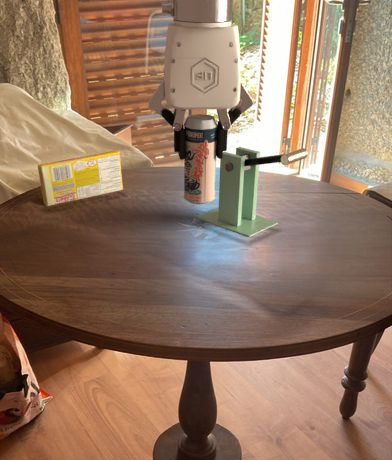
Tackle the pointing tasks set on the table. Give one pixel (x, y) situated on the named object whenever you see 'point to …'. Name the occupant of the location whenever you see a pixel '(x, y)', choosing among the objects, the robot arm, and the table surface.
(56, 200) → the candy box
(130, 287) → the table surface
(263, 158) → the lever
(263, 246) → the table surface
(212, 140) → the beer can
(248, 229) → the bracket
